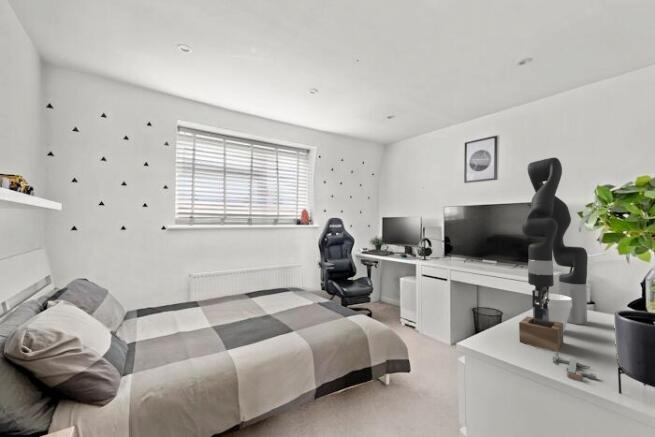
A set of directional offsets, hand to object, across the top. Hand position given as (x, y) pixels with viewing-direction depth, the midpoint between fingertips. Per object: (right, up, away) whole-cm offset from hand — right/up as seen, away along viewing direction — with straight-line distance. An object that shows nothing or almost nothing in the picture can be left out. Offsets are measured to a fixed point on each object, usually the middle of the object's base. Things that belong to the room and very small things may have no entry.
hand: (541, 316), depth 105 cm
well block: (-1, -9, -1) cm, 9 cm away
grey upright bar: (-1, -9, -1) cm, 9 cm away
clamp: (-6, -9, -21) cm, 23 cm away
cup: (+13, -10, +12) cm, 20 cm away
